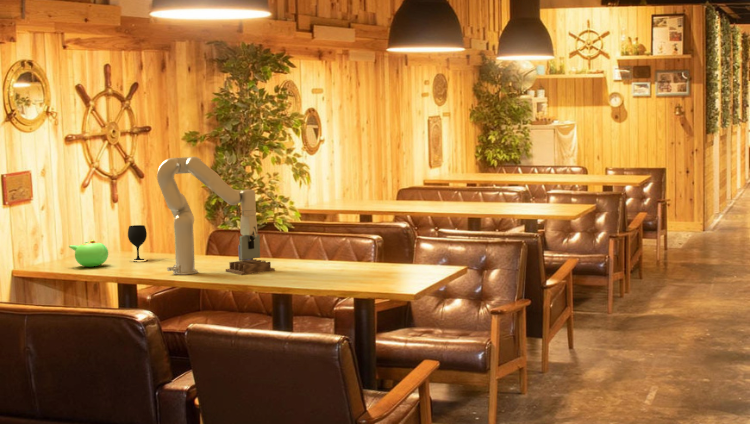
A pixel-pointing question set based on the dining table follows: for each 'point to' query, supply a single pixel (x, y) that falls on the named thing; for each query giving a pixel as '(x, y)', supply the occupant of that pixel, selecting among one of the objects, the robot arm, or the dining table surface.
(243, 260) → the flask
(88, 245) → the green teapot
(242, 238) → the plate
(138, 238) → the wine glass
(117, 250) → the dining table surface
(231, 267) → the rack
